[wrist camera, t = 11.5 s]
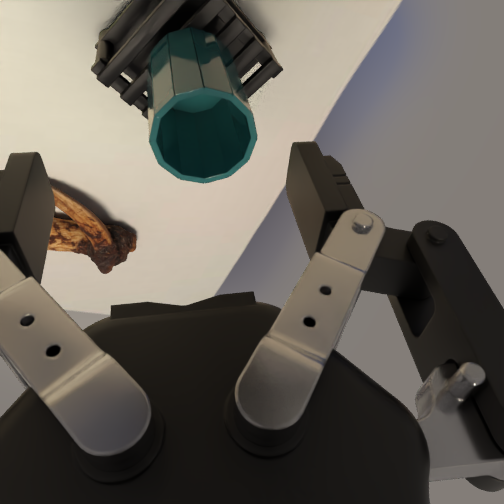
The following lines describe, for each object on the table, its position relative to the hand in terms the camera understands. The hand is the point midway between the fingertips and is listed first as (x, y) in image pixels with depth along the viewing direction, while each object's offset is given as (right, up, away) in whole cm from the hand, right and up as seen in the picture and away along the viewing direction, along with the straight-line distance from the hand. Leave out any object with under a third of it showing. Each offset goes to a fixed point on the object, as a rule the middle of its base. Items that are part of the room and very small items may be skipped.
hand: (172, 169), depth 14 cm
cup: (-2, +10, +17) cm, 20 cm away
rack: (-3, +15, +22) cm, 27 cm away
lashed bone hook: (-19, +2, +33) cm, 38 cm away
